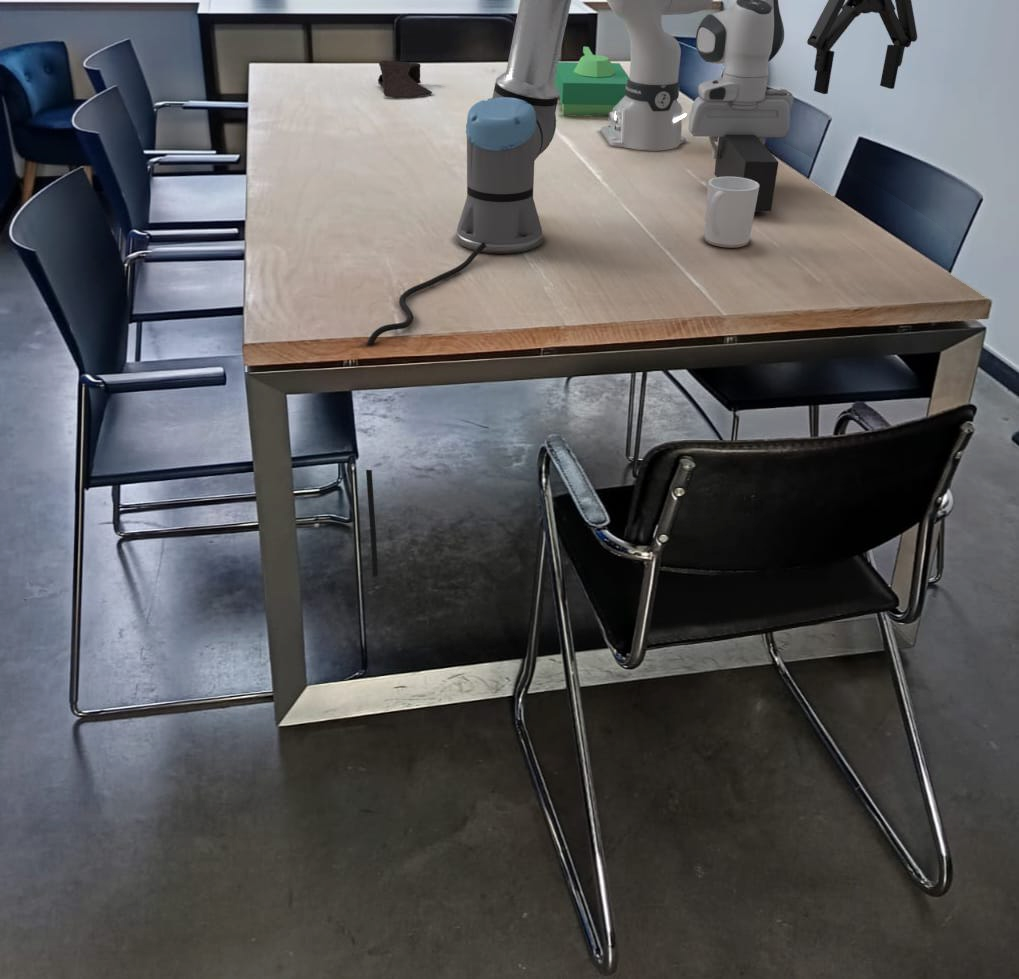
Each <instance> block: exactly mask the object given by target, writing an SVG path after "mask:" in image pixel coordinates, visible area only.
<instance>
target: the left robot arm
mask: <svg viewBox="0 0 1019 979" xmlns="http://www.w3.org/2000/svg"><path fill="white" fill-rule="evenodd" d="M894 3H895V4H894ZM571 5H572V0H519V5H518V9H517V15H516V20H515V24H514V25H515V26H514V30H513V36H512V41H511V45H510V51H509V55H508V61H507V66H506V70H505V72H503V73H502V74H501V75H499V76H498V77H496V79H495V83H494V87H493V93H492V96H491V98H487V100H485V99H484V100H480V101H478V102H475V104H473V105H472V106H471V107H470V109H469V110H468V111H467V119H466V123H465V124H466V125H465V133H466V192H467V193H466V198H465V202H464V205H463V209H462V211H461V214H460V218H459V220H458V224H457V228H456V241H457V243H458V244H459V245H461V246H462V247H464V248H466V249H468V250H470V251H472V253H471V254H470V255H469V256H468V257H467V258H466V260H464V262H462V263H460V264H459V265H457V266H456V267H454V268H452V269H449V270H448V271H446V272H443V273H441V274H439V275H437V276H435V277H433V278H431V279H428V280H427V281H425V282H424V281H423V282H422V283H419V284H416V285H414V286H412V287H410V288H408V289H407V290H405V291H404V292H403V293H402V294H401V295H400V297H399V300H398V303H399V307H400V308H401V310H402V311H403V312H404V314H405V315H406V317H407V318H406V320H404V321H402V322H398V323H397V322H396V323H391V324H386V325H382V326H380V327H378V328H376V329H375V330H374V331H373V332H372V334H371V335H370V336H369V337H368V339H367V342H366V347H372V346H373V345H374V343H375V341H376V340H377V338H378V337H379V336H381V335H382V334H384V333H387V332H390V331H395V330H403V329H406V328H408V327H409V326H410V325H412V323H413V322H414V314H413V312H412V310H411V309H410V308H409V306H408V305H407V304H406V300H407V298H408V297H410V296H411V295H413V294H415V293H417V292H419V291H421V290H424V289H426V288H429V287H431V286H433V285H435V284H437V283H439V282H441V281H443V280H445V279H447V278H450V277H452V276H454V275H456V274H458V273H460V272H461V271H463V270H464V269H466V268H467V267H468V266H469V265H470V264H471V263H472V262H473V261H474V260H475V259H476V257H477V256H478V255H479V254H480V253H486V254H497V255H499V254H500V255H506V254H507V255H508V254H517V253H524V252H527V251H530V250H533V249H536V248H538V247H539V246H540V245H541V244H542V243H543V229H542V224H541V221H540V220H541V219H540V218H539V214H538V213H539V212H538V210H537V206H536V204H535V199H534V184H535V181H534V180H535V161H536V160H537V159H538V158H539V156H540V155H541V154H543V153H544V152H545V151H546V149H548V147H549V146H550V144H551V142H552V141H553V139H554V136H555V133H556V130H557V115H556V112H557V107H558V104H559V103H558V102H559V99H560V98H559V91H558V89H557V88H556V86H555V84H554V77H555V73H556V68H557V64H558V62H559V58H560V53H561V49H562V44H563V40H564V36H565V31H566V27H567V22H568V18H569V13H570V8H571ZM913 8H914V7H913V3H912V0H894V2H893V0H827V2H826V5H824V8H823V10H822V12H821V13H820V15H819V17H818V19H817V21H816V24H815V25H814V27H813V29H812V30H811V33H810V35H809V36H808V38H807V41H806V42H807V45H808V46H811V47H813V48H814V49H815V50H816V54H815V62H814V65H813V66H814V67H813V68H814V71H815V72H816V74H815V80H814V86H813V87H814V88H813V92H816V93H819V94H822V95H828V94H829V88H830V83H831V82H830V81H831V75H832V69H833V63H834V56H835V51H833V50H831V49H832V48H833V47H834V45H836V43H837V41H839V39H840V38H841V37H842V35H843V34H844V33H845V31H846V30H847V29H848V27H849V26H850V25H851V24H852V22H853V21H854V20H855V19H856V18H857V17H859V16H860V15H861V14H870V13H875V14H879V17H880V19H881V21H882V23H883V25H884V27H885V30H886V31H887V35H888V36H889V39H890V41H891V42H892V44H887V46H886V52H885V57H884V62H883V67H882V73H881V77H880V84H879V87H884V88H886V89H891V90H892V89H895V86H896V81H897V77H898V71H899V67H901V65H902V63H903V58H904V53H905V48H909V47H911V44H912V43H914V42H917V40H918V32H917V26H916V20H915V15H914V9H913ZM895 10H896V11H895ZM365 473H366V474H365V475H366V489H367V490H366V491H367V502H368V503H367V505H368V519H369V520H368V521H369V530H370V531H369V533H370V534H369V535H370V548H371V549H370V550H371V551H370V552H371V569H372V573H371V574H372V577H374V578H377V577H378V576H379V566H378V548H377V547H378V546H377V528H376V513H375V500H374V499H375V498H374V485H373V483H374V482H373V470H372V469H365Z"/></svg>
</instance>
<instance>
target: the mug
mask: <svg viewBox="0 0 1019 979" xmlns="http://www.w3.org/2000/svg"><path fill="white" fill-rule="evenodd" d="M758 191H759V184H758V183H757V182H756V181H753V180H750V179H746V178H741V177H716V176H715V177H712V178H710V179H709V180H708V181H707V192H706V207H705V219H704V220H705V222H704V236H703V238H704V241H705V242H706V243H707V244H710V245H712V246H715V247H719V248H720V247H721V248H731V249H733V248H734V249H735V248H742V247H744V246H747V245H748V244H749V242H750V239H751V233H752V228H753V224H754V223H753V222H754V217H755V213H756V211H755V207H756V202H757V196H758Z"/></svg>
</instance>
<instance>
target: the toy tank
mask: <svg viewBox="0 0 1019 979" xmlns="http://www.w3.org/2000/svg"><path fill="white" fill-rule="evenodd" d="M582 53H583V55H582V56H581V57H580V59H579V60H578V61H577V62H576V61H575V62H574V61H558V64H557V68H556V73H555V77H554V85H555V86H556V88H557V89H558V91H559V98H558V99H559V101H560V104H561V113H562V116H579V117H581V116H589V117H590V116H593V117H594V116H596V117H598V116H599V117H608V115H609V112H612V110H613V108H614V107H615V106H616V105H617V104H618V103H619V102H620V101H621V99H622V98H623V97H624V96H625V89H626V88H625V87H626V85H627V84H626V83H627V79H629V78H630V76H629V75H628V73H627V72H626V71H625V69H624V67H623V66H622V65H621V63H620V62H611V59H610V58H609V57H607V56H605V55H599V54H593V52H592V51H591V49H590V47H589V46H583V47H582Z"/></svg>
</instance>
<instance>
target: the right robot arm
mask: <svg viewBox="0 0 1019 979" xmlns="http://www.w3.org/2000/svg"><path fill="white" fill-rule="evenodd" d="M713 2H714V0H606V3H607V5H608V6H609V9H610V10H611V11H612V12H613V13H614V14H615V15H616V16H618V17H619V18H620V20H621V22H622V23H623V25H624V27H625V28H626V31H627V35H628V38H629V44H630V64H629V79H627V83H626V84H627V85H626V87H625V88H626V89H625V96H624V97H623V98H622V99H621V101H620V102H619V103H618V104H617V105H616V106H615V107H614V108H613V110H612V112H609V115H608V116H607V118H608V119H607V120H608V123H610V124H609V125H605V126H602V127H601V128H600V132H601V134H602V135H603V136H604V138H605V139H606V141H607V143H608V144H609V145H610V146H612V147H617V148H627V149H632V150H639V151H668V150H672V149H673V150H674V149H676V148H678V147H679V146H680V145H681V144H683V143H686V142H687V141H686V140H687V138H686V136H685V135H682V131H683V130H682V129H683V119H684V118H686V117H687V113H686V112H684V113H683V106H682V105H681V103H679V101H678V99H679V98H680V97H679V95H680V90H681V89H680V81H679V73H680V66H681V65H680V64H681V53H682V49H681V45H680V43H679V41H678V39H676V38H675V37H674V36H673V35H671V34H670V33H668V32H667V31H665V30H664V29H663V24H662V17H663V16H673V15H675V16H676V15H677V16H679V15H689V14H693V13H694V14H695V13H698V12H700V11H704V10H706V9H708V8H709V7H710V6H711V5H712V3H713ZM696 30H697V31H696V35H695V48H696V50H697V53H698V55H699V56H700V58H701V59H702V60H703V61H704V62H706V63H711V64H715V65H716V64H717V65H718V64H723V65H724V68H723V72H722V73H723V74H722V76H720V77H716V78H713V79H709V80H707V81H703V82H700V84H699V85H698V86H697V92H698V95H699V96H697V97H696V98H695V99H694V101H693V103H692V106H691V110H690V115H689V119H688V126H687V127H688V128H687V129H688V132H689V133H690V134H691V135H692V136H693V137H696V138H697V137H701V138H702V137H707V138H708V141H709V143H710V145H711V148H712V158H713V160H716V159H721V153H722V150H721V149H720V148H717V147H718V145H717V144H716V143H718V139H719V137H724V136H725V135H755V136H756V137H757V138H758V139H759V140H760V141H761V142H762V144H763V145H764V146H765V145H766V140H767V138H768V139H769V138H772V139H773V138H775V139H778V138H780V139H784V138H786V136H787V135H788V134H789V132H790V122H791V114H790V113H791V112H790V111H791V110H792V109H793V106H794V95H793V93H792V92H790V91H789V90H788V89H786V88H785V89H784V88H780V89H776V88H767V86H768V80H769V79H768V78H769V62H770V61H772V60H773V59H774V58H775V57H776V55H777V54H778V53H779V52H780V50H781V48H782V46H783V44H784V40H785V28H784V22H783V19H782V14H781V10H780V5H779V0H736V1H735V2H734V3H733V5H732V6H730V7H729V8H726V9H724V10H721V11H717V12H714V13H710V14H707V15H705V17H703V19H702V20H701V22H700V23H699V24H698V27H697V29H696Z"/></svg>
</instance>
